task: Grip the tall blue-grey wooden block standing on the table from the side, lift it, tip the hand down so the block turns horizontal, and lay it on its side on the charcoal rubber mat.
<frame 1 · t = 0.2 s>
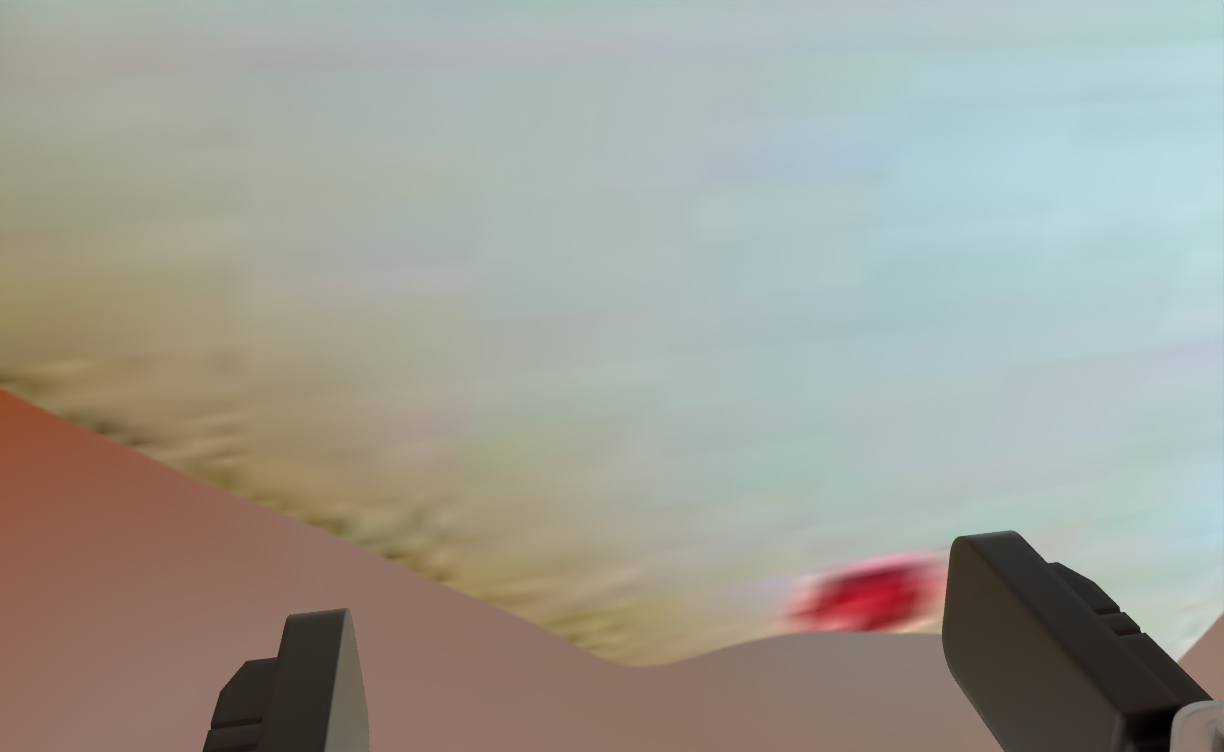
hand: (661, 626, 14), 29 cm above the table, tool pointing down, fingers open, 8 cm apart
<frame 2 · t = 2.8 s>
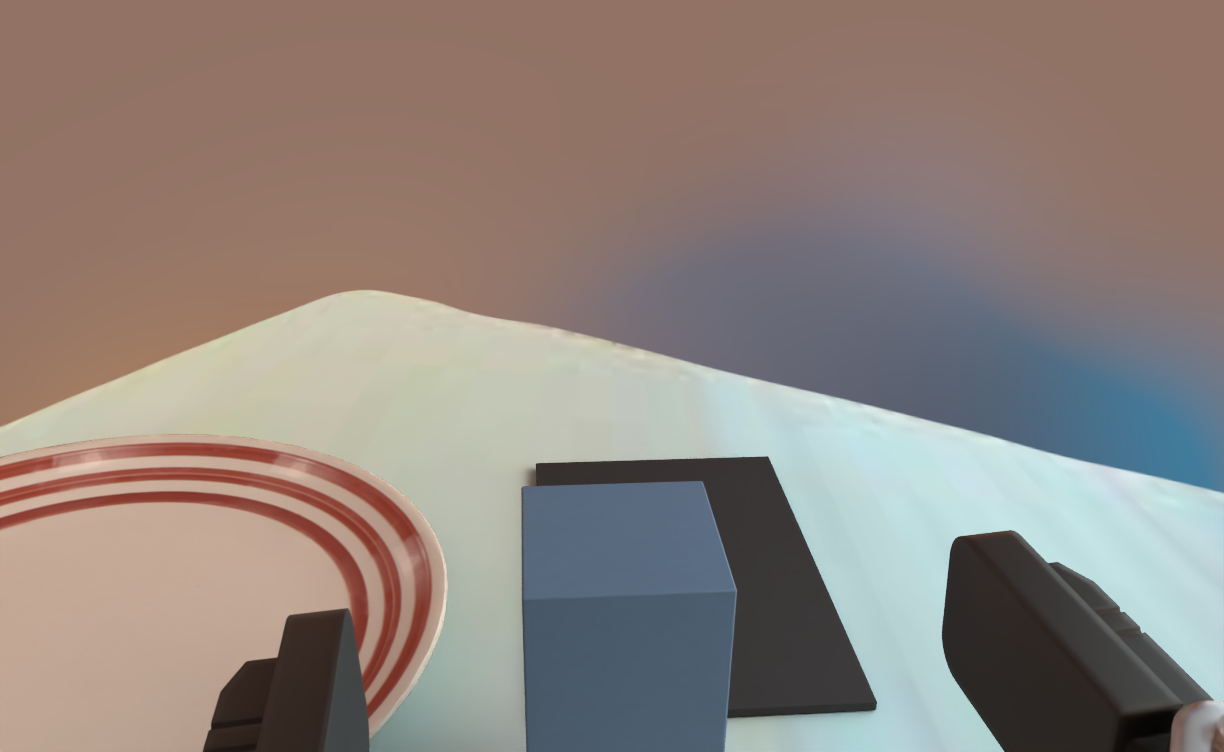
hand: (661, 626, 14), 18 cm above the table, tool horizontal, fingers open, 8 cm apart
dinner plate: (82, 674, 39), on the table
mat: (677, 569, 45), on the table
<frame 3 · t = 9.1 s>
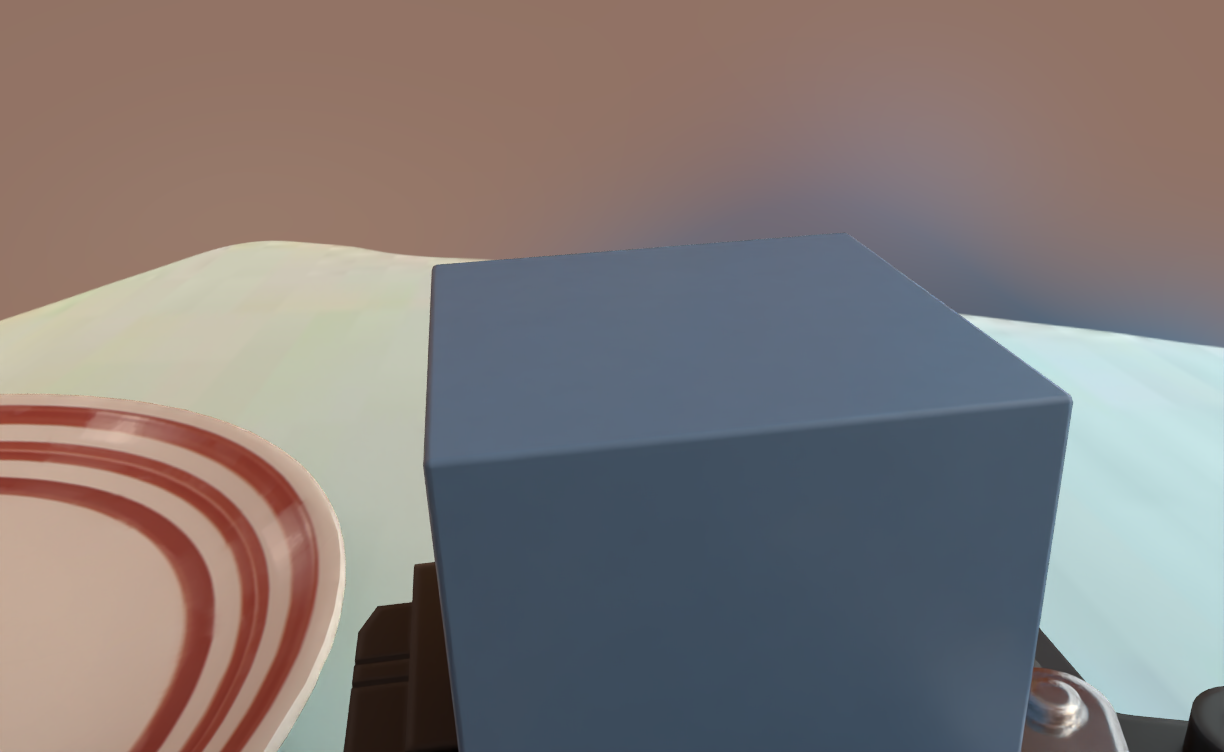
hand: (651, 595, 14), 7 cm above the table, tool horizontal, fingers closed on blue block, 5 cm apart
mat: (719, 531, 29), on the table
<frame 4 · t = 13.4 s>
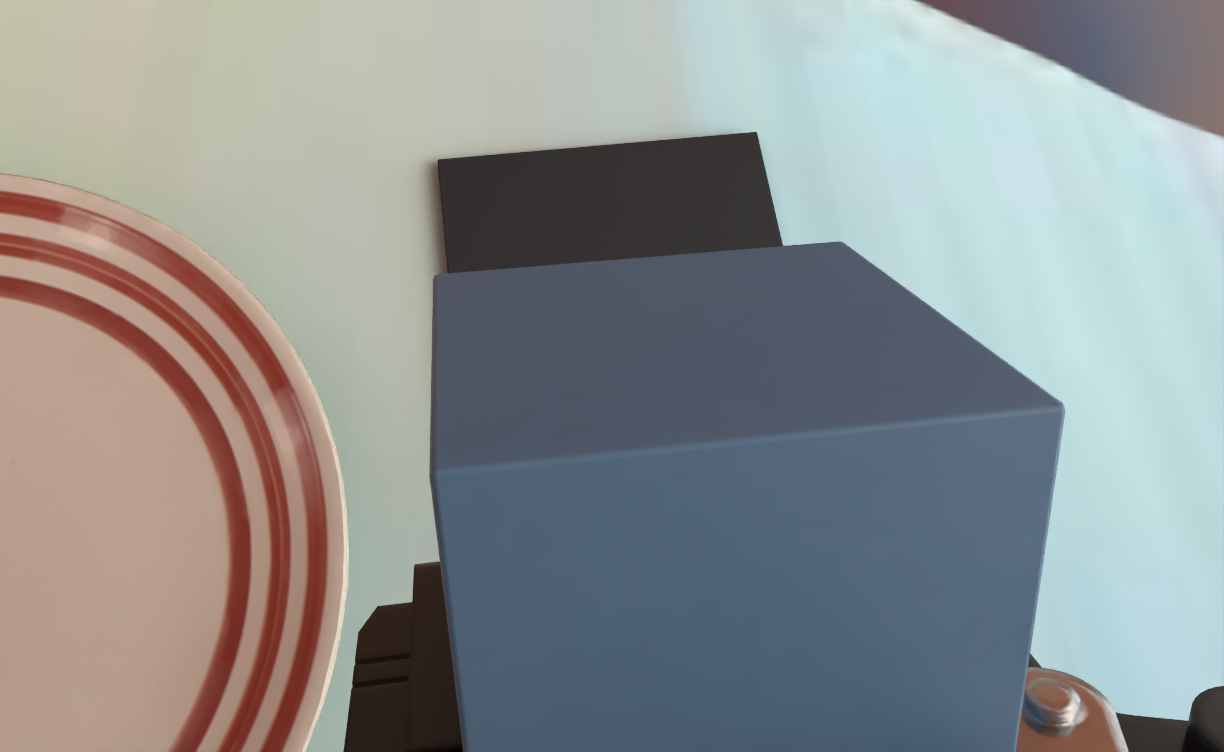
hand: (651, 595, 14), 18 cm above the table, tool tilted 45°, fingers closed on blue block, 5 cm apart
mat: (635, 371, 35), on the table
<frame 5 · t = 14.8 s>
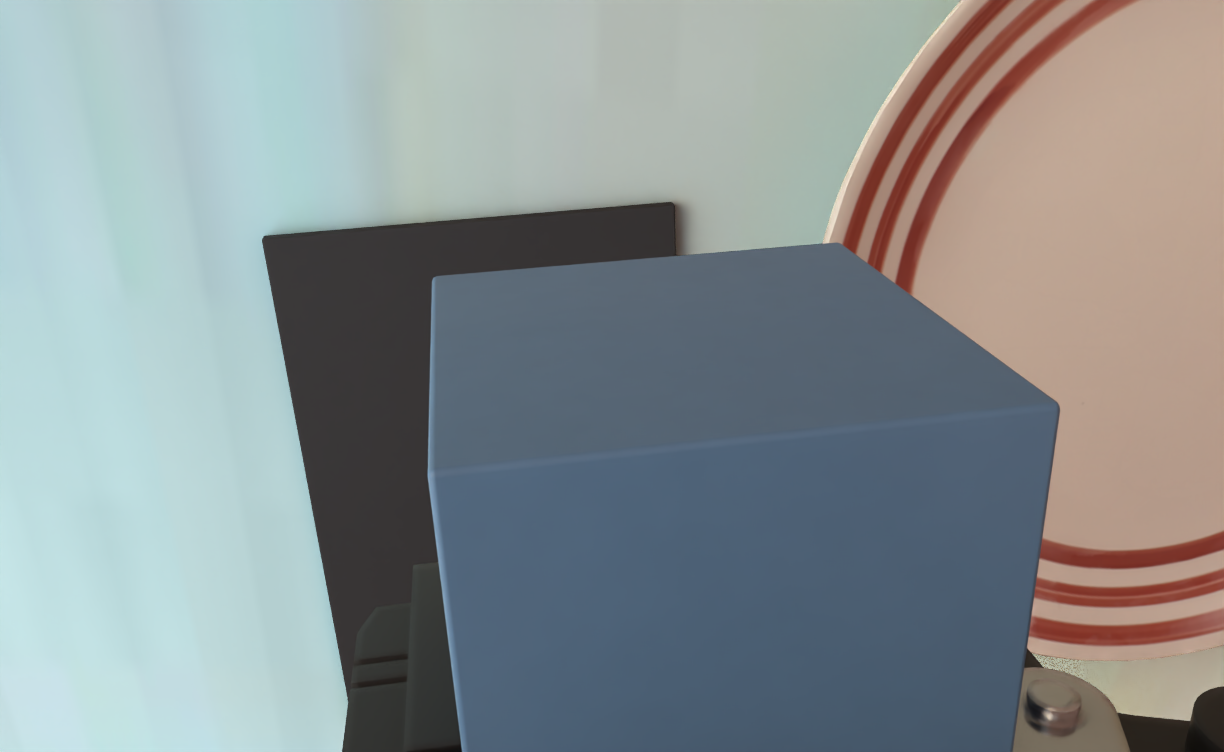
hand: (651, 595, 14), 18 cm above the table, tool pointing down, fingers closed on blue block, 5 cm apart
dinner plate: (1172, 277, 35), on the table
mat: (500, 485, 34), on the table
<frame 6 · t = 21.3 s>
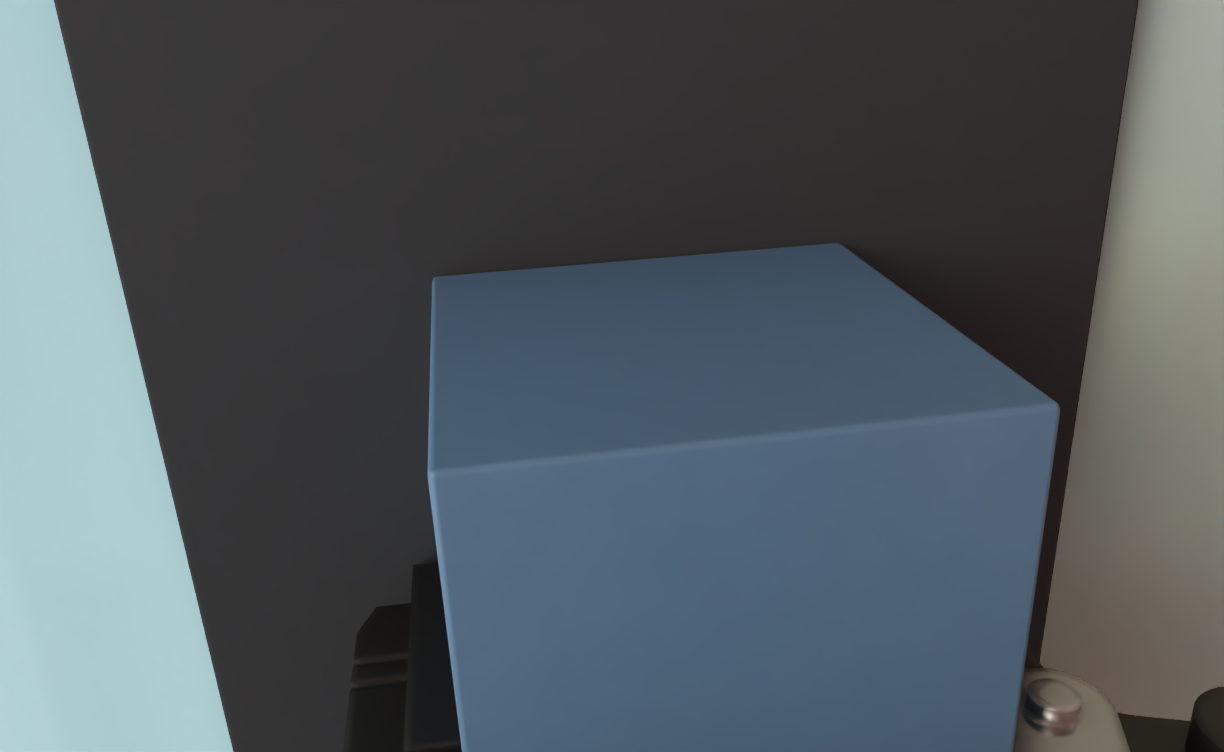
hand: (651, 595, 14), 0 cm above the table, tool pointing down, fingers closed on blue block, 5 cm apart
mat: (646, 517, 14), on the table
when the fingers open (2 cm above the table, at t = 31.1 s): blue block drops 2 cm, resting on mat.
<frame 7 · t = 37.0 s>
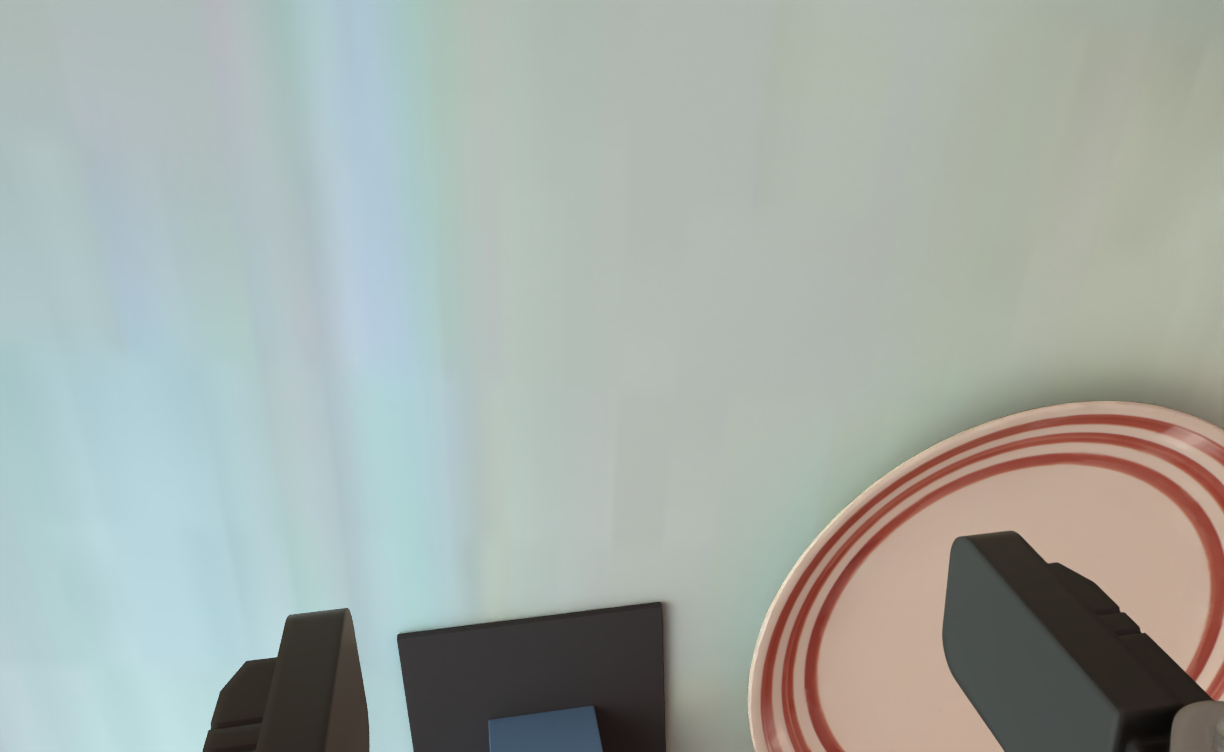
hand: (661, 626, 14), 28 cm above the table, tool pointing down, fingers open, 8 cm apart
dinner plate: (1000, 625, 52), on the table
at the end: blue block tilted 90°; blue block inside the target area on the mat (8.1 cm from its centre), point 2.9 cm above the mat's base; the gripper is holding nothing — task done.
